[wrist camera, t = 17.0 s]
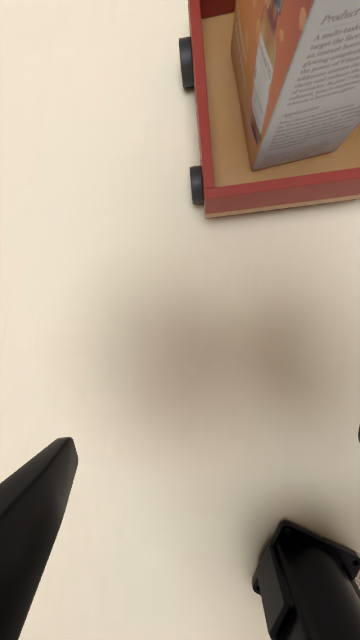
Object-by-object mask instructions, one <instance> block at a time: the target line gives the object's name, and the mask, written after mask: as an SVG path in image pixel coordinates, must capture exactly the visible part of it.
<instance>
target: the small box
mask: <svg viewBox="0 0 360 640" xmlns="http://www.w3.org/2000/svg"><path fill="white" fill-rule="evenodd" d="M231 57H232V62H233V67H234V71H235V76H236V82H237V87H238V93H239V99H240V105H241V112H242V118H243V125H244V131H245V137H246V143H247V149H248V155H249V162H250V168H251V170H252V171H254V170H258V169H262V168H266V167H271V166H275V165H279V164H284V163H288V162H292V161H296V160H300V159H304V158H309V157H313V156H317V155H321V154H325V153H329V152H333V151H335V150H336V149H337V148H338V147H339V146H340V145H341V144H342V142H343V141H344V140H345V139H346V138H347V137H348V136H349V134H350V133H351V132H352V131H353V130H354V129H355V127H356V126H357V125H358V124H359V123H360V0H236V5H235V13H234V23H233V32H232V41H231Z"/></svg>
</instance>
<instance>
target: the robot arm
mask: <svg viewBox="0 0 360 640" xmlns="http://www.w3.org/2000/svg"><path fill="white" fill-rule="evenodd" d="M358 439H359V442H360V426H359V432H358ZM77 466H78V455H77V452H76V448H75V444H74V441H73V439H72V438H71V437H64V438H58V439H56V440H55V441H54V442H52V443H51V444H50V445H48V446H47V447H46V448H45V449H43V450H42V451H41V452H40V453H38V454H37V455H36V456H35V457H33V458H32V459H31V460H29V461H28V462H27V463H26V464H24V465H23V466H22V467H21V468H19V469H18V470H17V471H16V472H14V473H13V474H12V475H10V476H9V477H8V478H7V479H5V480H4V481H3V482H2V483H0V640H18V639H19V636H20V633H21V631H22V628H23V625H24V623H25V620H26V617H27V615H28V612H29V609H30V606H31V604H32V601H33V598H34V596H35V593H36V590H37V588H38V585H39V582H40V580H41V577H42V574H43V572H44V569H45V566H46V564H47V561H48V558H49V555H50V553H51V550H52V547H53V545H54V542H55V539H56V537H57V534H58V531H59V528H60V526H61V523H62V520H63V516H64V513H65V509H66V506H67V502H68V498H69V495H70V491H71V488H72V484H73V480H74V477H75V473H76V469H77ZM286 528H288V529H287V530H285V529H286ZM359 570H360V557H359V556H358V554H357V553H355V552H353V551H351V550H349V549H347V548H345V547H343V546H340V545H338V544H336V543H334V542H332V541H330V540H327V539H325V538H323V537H321V536H319V535H317V534H314V533H312V532H310V531H308V530H306V529H304V528H301V527H299V526H297V525H295V524H293V523H290V522H288V521H283V522H281V523H280V525H279V527H278V529H277V531H276V533H275V535H274V537H273V539H272V541H271V543H270V544H269V545H268V547H267V549H266V551H265V553H264V555H263V557H262V559H261V561H260V563H259V565H258V567H257V569H256V574H255V576H254V578H253V580H252V586H253V590H254V592H256V593H257V594H259V595H261V597H262V602H263V608H264V613H265V618H266V623H267V628H268V633H269V635H270V638H271V639H272V640H360V590H359V588H358V586H357V584H356V582H355V581H354V579H355V577H356V575H357V573H358V571H359ZM258 585H259V586H258Z"/></svg>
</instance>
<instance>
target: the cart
mask: <svg viewBox="0 0 360 640" xmlns="http://www.w3.org/2000/svg"><path fill="white" fill-rule="evenodd" d="M235 5H236V0H188V11H189V28H190V37H185V38H180V39H179V49H180V61H181V72H182V82H183V87H184V88H185V87H191V86H194V89H195V101H196V113H197V125H198V137H199V149H200V161H201V166H193V167H190V179H191V190H192V200H193V204H201V203H203V202H204V210H205V218H212V217H219V216H227V215H235V214H243V213H251V212H259V211H266V210H274V209H282V208H290V207H298V206H306V205H313V204H321V203H329V202H337V201H345V200H353V199H360V123H359V124H358V125H357V126H356V127H355V129H354V130H353V131H352V132H351V133H350V134H349V136H348V137H347V138H346V139H345V140H344V141H343V142H342V144H341V145H340V146H339V147H338V148H337V149H336V150H335V151H333V152H329V153H325V154H321V155H317V156H313V157H309V158H304V159H300V160H296V161H292V162H288V163H284V164H279V165H275V166H271V167H266V168H262V169H258V170H254V171H252V170H251V168H250V162H249V155H248V149H247V143H246V137H245V131H244V125H243V118H242V112H241V105H240V99H239V93H238V87H237V82H236V76H235V71H234V67H233V62H232V57H231V41H232V32H233V23H234V13H235Z"/></svg>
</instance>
